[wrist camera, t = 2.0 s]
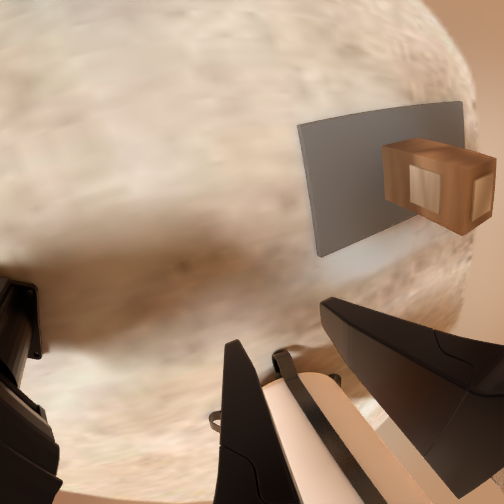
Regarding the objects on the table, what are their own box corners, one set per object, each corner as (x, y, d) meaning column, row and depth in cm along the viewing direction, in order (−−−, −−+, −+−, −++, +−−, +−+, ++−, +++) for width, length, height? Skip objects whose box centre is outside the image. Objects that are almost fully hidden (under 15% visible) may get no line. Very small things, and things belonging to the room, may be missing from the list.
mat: (317, 254, 24) (320, 257, 23) (297, 125, 19) (300, 125, 18) (460, 191, 28) (463, 192, 27) (458, 101, 23) (462, 101, 22)
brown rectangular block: (383, 202, 23) (462, 240, 16) (379, 146, 21) (468, 171, 14) (419, 188, 24) (493, 219, 17) (417, 137, 22) (498, 159, 15)
